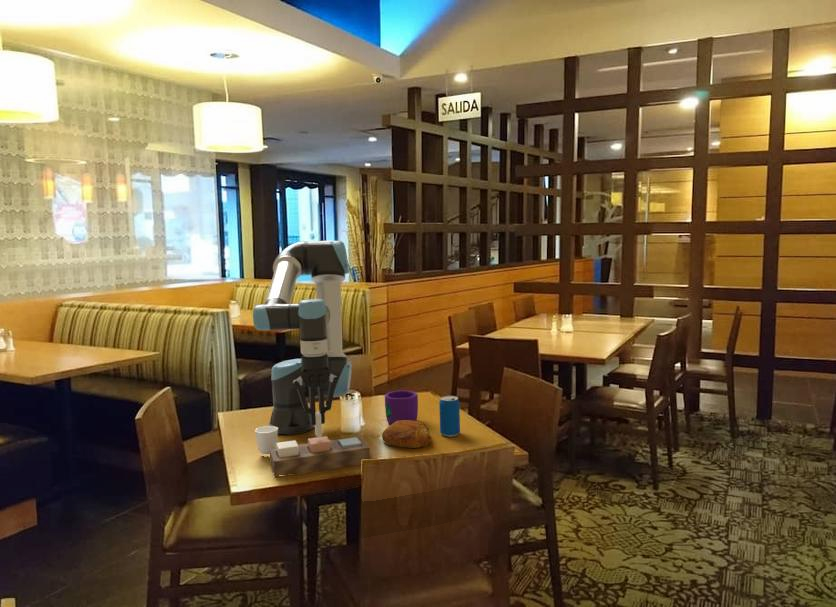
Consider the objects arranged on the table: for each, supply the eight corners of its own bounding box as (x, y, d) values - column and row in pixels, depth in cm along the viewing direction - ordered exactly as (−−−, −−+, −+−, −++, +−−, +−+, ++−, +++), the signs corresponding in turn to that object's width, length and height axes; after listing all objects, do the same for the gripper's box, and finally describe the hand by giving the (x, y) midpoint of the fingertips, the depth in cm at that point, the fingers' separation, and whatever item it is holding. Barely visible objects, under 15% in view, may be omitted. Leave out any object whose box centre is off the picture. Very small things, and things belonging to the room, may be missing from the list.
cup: (258, 460, 187) (256, 434, 186) (252, 450, 196) (251, 425, 195) (282, 456, 189) (280, 430, 189) (275, 446, 199) (274, 421, 198)
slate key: (343, 460, 182) (342, 445, 182) (339, 454, 188) (338, 440, 187) (361, 457, 184) (361, 443, 184) (357, 451, 189) (356, 437, 189)
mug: (424, 424, 217) (423, 395, 216) (393, 429, 212) (392, 400, 211) (403, 411, 233) (402, 385, 231) (374, 416, 228) (373, 389, 227)
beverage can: (458, 437, 201) (457, 401, 200) (438, 437, 203) (437, 400, 201) (461, 431, 208) (460, 395, 206) (441, 430, 209) (440, 395, 208)
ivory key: (279, 464, 176) (278, 448, 176) (277, 457, 182) (276, 442, 181) (299, 461, 178) (298, 446, 178) (296, 455, 183) (295, 440, 183)
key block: (274, 477, 174) (273, 461, 173) (270, 463, 184) (269, 448, 183) (370, 462, 182) (369, 447, 182) (361, 450, 193) (360, 436, 192)
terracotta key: (311, 459, 179) (311, 444, 179) (308, 453, 184) (307, 438, 184) (330, 456, 181) (330, 441, 181) (327, 450, 186) (326, 436, 186)
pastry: (417, 459, 190) (419, 434, 188) (374, 445, 197) (375, 421, 196) (440, 443, 202) (442, 420, 201) (398, 430, 210) (400, 407, 208)
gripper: (293, 358, 174) (297, 442, 176) (340, 354, 178) (343, 436, 181) (289, 354, 181) (293, 434, 183) (334, 349, 185) (338, 428, 188)
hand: (318, 435), depth 182 cm, fingers closed
